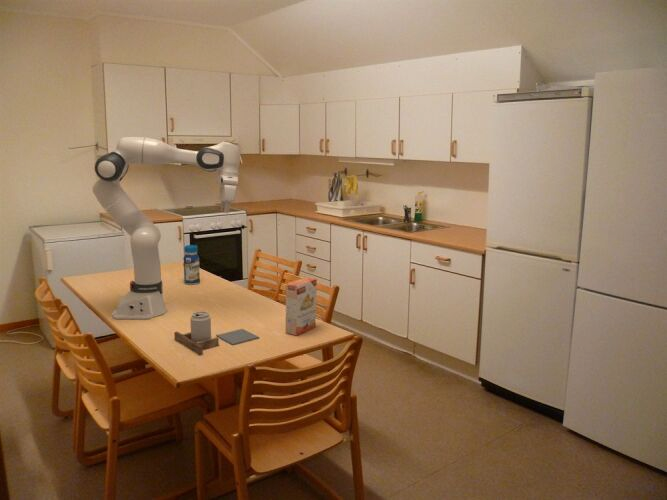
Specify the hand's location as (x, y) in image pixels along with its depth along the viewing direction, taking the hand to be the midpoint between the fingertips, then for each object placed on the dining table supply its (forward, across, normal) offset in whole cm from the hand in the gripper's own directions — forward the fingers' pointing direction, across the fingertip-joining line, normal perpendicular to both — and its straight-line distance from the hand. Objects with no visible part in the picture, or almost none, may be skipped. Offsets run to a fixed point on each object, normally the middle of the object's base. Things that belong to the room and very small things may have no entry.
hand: (225, 212), depth 243 cm
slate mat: (+48, +28, +5) cm, 55 cm away
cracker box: (+45, +26, +31) cm, 60 cm away
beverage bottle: (+41, -59, -5) cm, 72 cm away
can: (+50, +30, -9) cm, 59 cm away
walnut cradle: (+49, +30, -9) cm, 59 cm away
